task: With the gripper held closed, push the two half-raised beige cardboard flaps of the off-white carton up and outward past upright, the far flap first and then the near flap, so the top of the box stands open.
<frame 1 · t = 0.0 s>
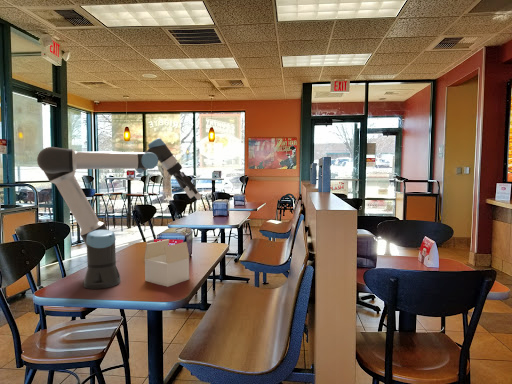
hand: (196, 197, 190), 36 cm above the table, tool tilted 35°, fingers open, 13 cm apart
far flap: (157, 248, 167), point 14 cm above the table, hinge at 75.0°
carton: (167, 280, 164), on the table
near flap: (177, 252, 159), point 14 cm above the table, hinge at 75.0°
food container: (154, 258, 207), on the table
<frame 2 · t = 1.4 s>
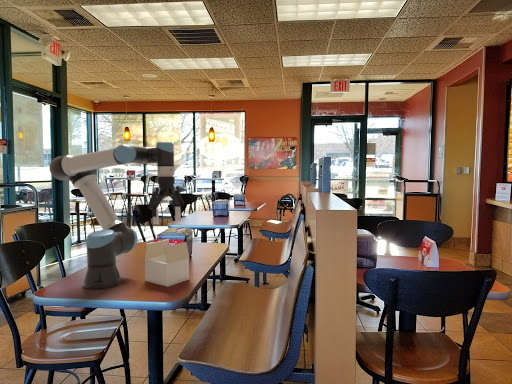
hand: (167, 222, 163), 27 cm above the table, tool pointing down, fingers open, 13 cm apart
nothing on the table moved.
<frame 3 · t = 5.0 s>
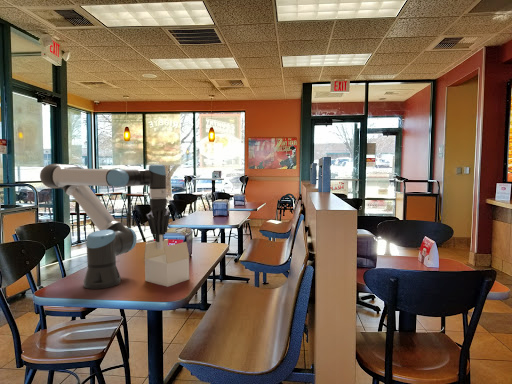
hand: (159, 248, 166), 14 cm above the table, tool pointing down, fingers closed
far flap: (156, 248, 167), point 14 cm above the table, hinge at 80.1°, touching gripper
everything else where it was.
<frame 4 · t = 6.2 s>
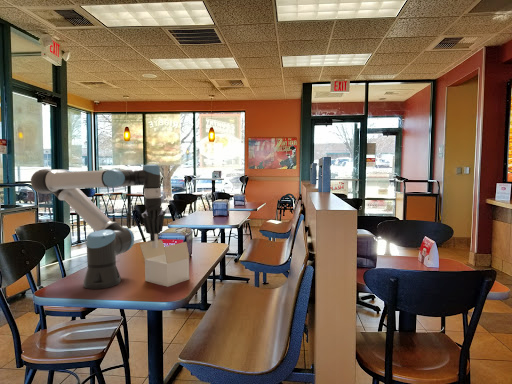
hand: (155, 247, 167), 14 cm above the table, tool pointing down, fingers closed
far flap: (153, 249, 168), point 13 cm above the table, hinge at 115.4°, touching gripper
everything else where it was.
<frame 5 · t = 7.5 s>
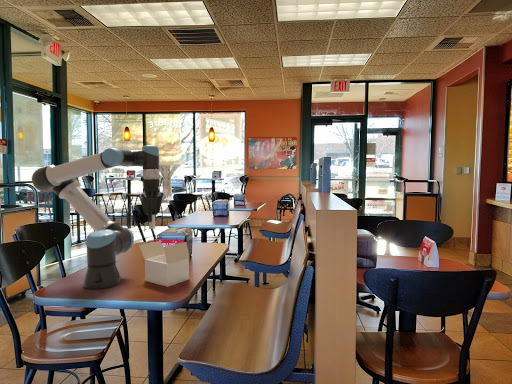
hand: (152, 228, 168), 23 cm above the table, tool pointing down, fingers closed
far flap: (152, 249, 169), point 13 cm above the table, hinge at 125.9°, touching carton
everything else where it was.
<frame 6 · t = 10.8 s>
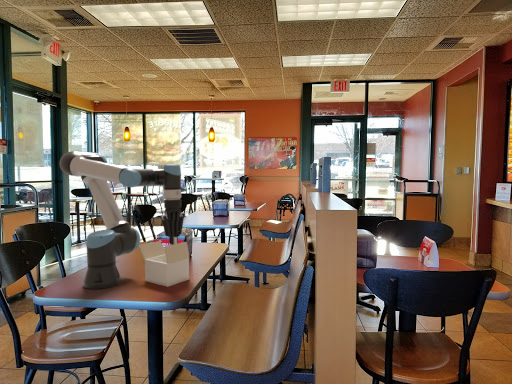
hand: (173, 251, 160), 14 cm above the table, tool pointing down, fingers closed
far flap: (152, 249, 169), point 13 cm above the table, hinge at 126.3°
near flap: (177, 252, 159), point 14 cm above the table, hinge at 77.6°, touching carton, gripper
everything else where it was.
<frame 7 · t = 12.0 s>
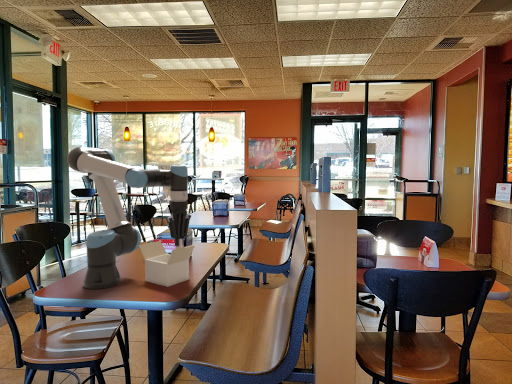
hand: (179, 253, 158), 14 cm above the table, tool pointing down, fingers closed
near flap: (181, 254, 157), point 13 cm above the table, hinge at 118.9°, touching gripper
everything else where it was.
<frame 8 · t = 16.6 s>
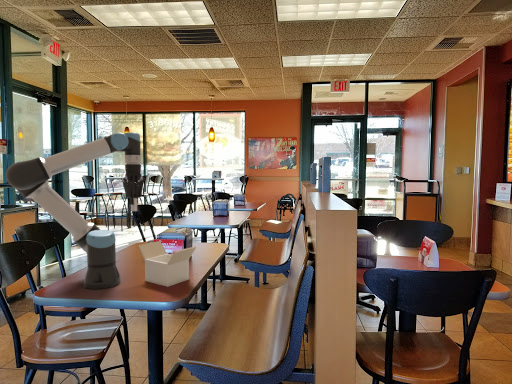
hand: (134, 210, 179), 30 cm above the table, tool pointing down, fingers closed
near flap: (182, 255, 157), point 13 cm above the table, hinge at 127.5°, touching carton
everything else where it was.
at the end: far flap at +126° (first picture: +75°); near flap at +128° (first picture: +75°) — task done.
